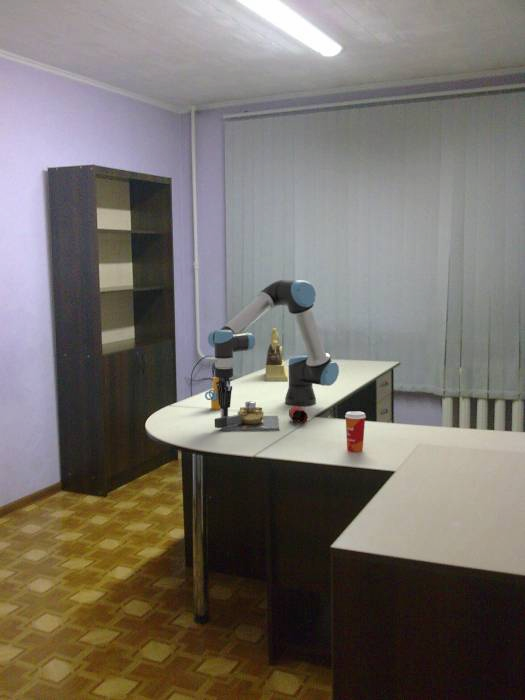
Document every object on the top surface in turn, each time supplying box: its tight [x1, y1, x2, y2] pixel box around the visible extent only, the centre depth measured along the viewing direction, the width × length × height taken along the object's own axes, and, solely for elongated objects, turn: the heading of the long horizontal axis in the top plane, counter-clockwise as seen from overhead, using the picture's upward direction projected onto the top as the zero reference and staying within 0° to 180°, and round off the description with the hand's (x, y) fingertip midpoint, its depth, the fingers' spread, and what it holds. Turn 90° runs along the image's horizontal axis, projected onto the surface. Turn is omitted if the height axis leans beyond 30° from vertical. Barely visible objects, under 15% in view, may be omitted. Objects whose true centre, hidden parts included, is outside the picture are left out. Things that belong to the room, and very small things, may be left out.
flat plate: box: [220, 400, 280, 432], centre depth 305 cm, size 24×25×10 cm
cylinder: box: [204, 376, 221, 411], centre depth 338 cm, size 12×10×15 cm
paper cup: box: [344, 410, 367, 453], centre depth 262 cm, size 8×8×14 cm
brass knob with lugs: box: [214, 406, 264, 429], centre depth 301 cm, size 24×11×5 cm, turn 133°
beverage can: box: [288, 405, 309, 426], centre depth 309 cm, size 7×12×7 cm, turn 6°
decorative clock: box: [265, 327, 289, 382], centre depth 426 cm, size 28×13×30 cm, turn 178°
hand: (224, 423), depth 299 cm, fingers closed
